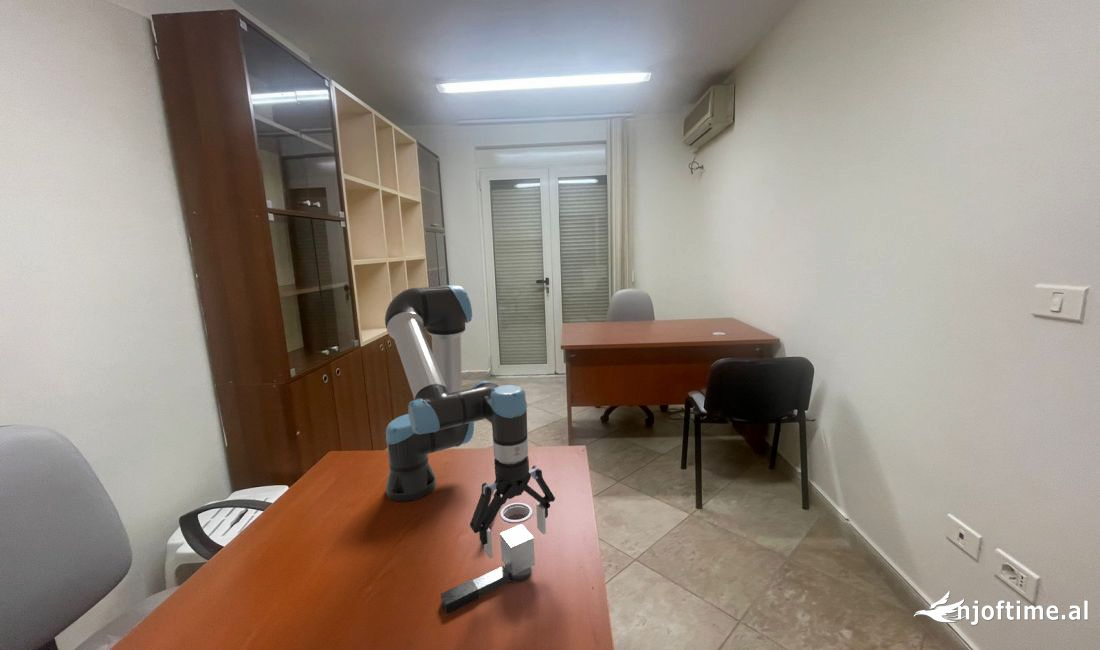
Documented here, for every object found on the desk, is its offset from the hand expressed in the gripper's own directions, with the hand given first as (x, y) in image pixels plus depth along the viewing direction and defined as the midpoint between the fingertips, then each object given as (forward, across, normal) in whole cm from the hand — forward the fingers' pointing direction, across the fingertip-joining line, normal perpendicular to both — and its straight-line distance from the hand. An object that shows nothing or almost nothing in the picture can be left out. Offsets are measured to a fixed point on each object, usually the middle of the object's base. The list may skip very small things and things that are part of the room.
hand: (516, 542), depth 93 cm
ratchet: (+7, -7, -1) cm, 10 cm away
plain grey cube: (+5, 0, -1) cm, 5 cm away
